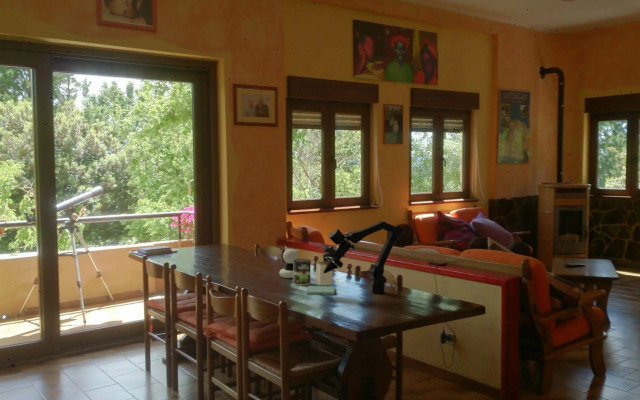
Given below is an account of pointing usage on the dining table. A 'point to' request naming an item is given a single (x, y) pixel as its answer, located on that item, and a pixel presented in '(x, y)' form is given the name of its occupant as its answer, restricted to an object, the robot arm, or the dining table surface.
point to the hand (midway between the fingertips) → (321, 271)
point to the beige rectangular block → (320, 275)
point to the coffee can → (301, 271)
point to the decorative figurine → (289, 262)
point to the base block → (321, 290)
